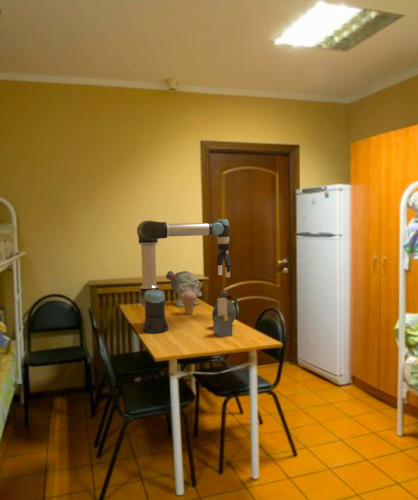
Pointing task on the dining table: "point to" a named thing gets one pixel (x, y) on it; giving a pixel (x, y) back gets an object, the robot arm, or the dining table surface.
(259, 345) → the dining table surface
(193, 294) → the ice cream cone
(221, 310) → the column
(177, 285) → the sculpture
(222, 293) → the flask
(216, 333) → the stand base
